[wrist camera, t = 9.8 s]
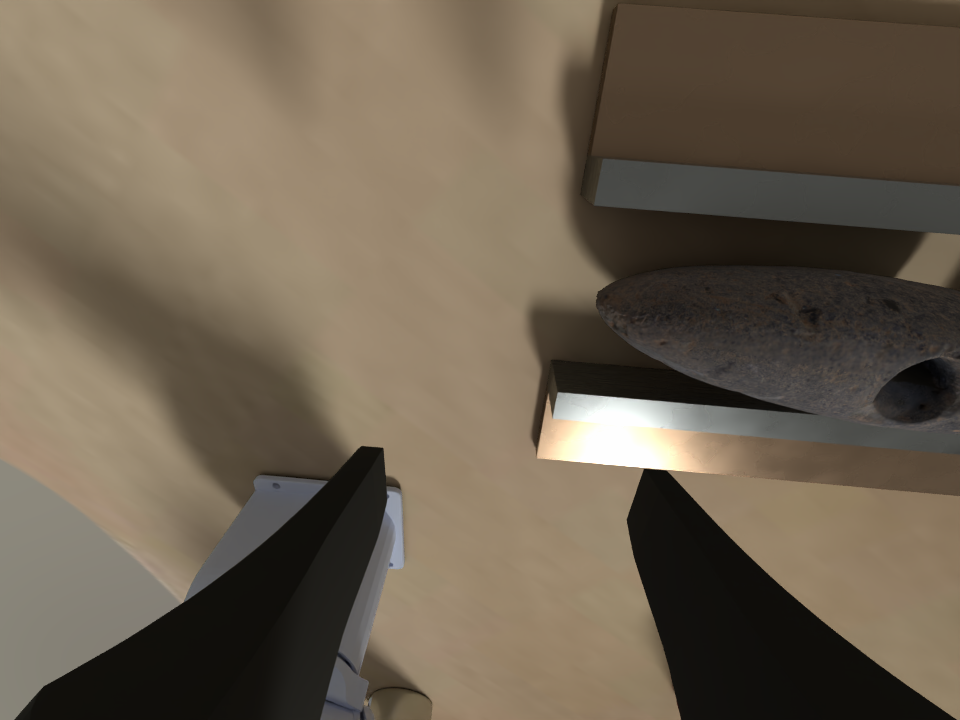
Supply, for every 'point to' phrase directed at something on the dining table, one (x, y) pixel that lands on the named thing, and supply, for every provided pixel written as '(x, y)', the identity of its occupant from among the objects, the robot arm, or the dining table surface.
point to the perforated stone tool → (802, 338)
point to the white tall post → (400, 705)
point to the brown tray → (763, 217)
